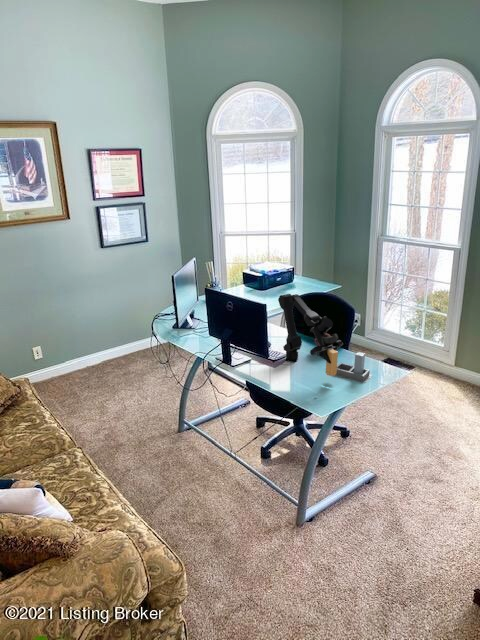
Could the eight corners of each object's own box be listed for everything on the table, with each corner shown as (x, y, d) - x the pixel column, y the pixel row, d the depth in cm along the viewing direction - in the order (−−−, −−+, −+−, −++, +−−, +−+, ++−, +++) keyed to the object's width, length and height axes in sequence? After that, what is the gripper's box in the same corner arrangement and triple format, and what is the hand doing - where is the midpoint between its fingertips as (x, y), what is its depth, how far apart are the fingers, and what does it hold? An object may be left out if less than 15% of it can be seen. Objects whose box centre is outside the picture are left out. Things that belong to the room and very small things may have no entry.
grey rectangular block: (351, 376, 255) (353, 354, 251) (355, 372, 259) (357, 351, 255) (361, 379, 253) (363, 356, 248) (364, 375, 257) (366, 353, 252)
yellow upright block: (323, 372, 250) (325, 350, 246) (331, 370, 253) (332, 348, 248) (330, 376, 246) (332, 354, 241) (338, 374, 249) (339, 351, 244)
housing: (329, 374, 259) (330, 368, 258) (338, 366, 268) (339, 360, 267) (364, 384, 248) (365, 378, 247) (372, 375, 258) (373, 369, 256)
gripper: (314, 333, 240) (327, 360, 235) (342, 325, 249) (355, 352, 244) (304, 342, 249) (316, 368, 244) (331, 334, 258) (343, 360, 253)
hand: (333, 362), depth 246 cm, fingers closed on yellow upright block, 4 cm apart
